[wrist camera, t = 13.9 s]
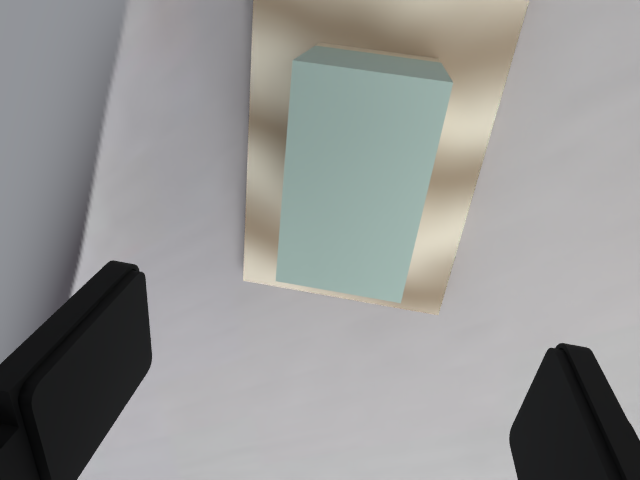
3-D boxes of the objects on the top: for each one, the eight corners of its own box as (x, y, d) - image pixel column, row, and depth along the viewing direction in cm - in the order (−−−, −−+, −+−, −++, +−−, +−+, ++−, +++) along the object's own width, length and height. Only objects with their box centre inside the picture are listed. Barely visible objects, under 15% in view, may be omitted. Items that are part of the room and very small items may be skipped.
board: (264, -74, 23) (255, -77, 22) (533, -42, 22) (542, -44, 21) (249, 269, 33) (243, 280, 31) (436, 301, 32) (438, 315, 30)
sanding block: (320, 42, 24) (292, 60, 18) (439, 58, 23) (453, 82, 17) (301, 218, 29) (275, 281, 22) (400, 235, 28) (400, 303, 22)
